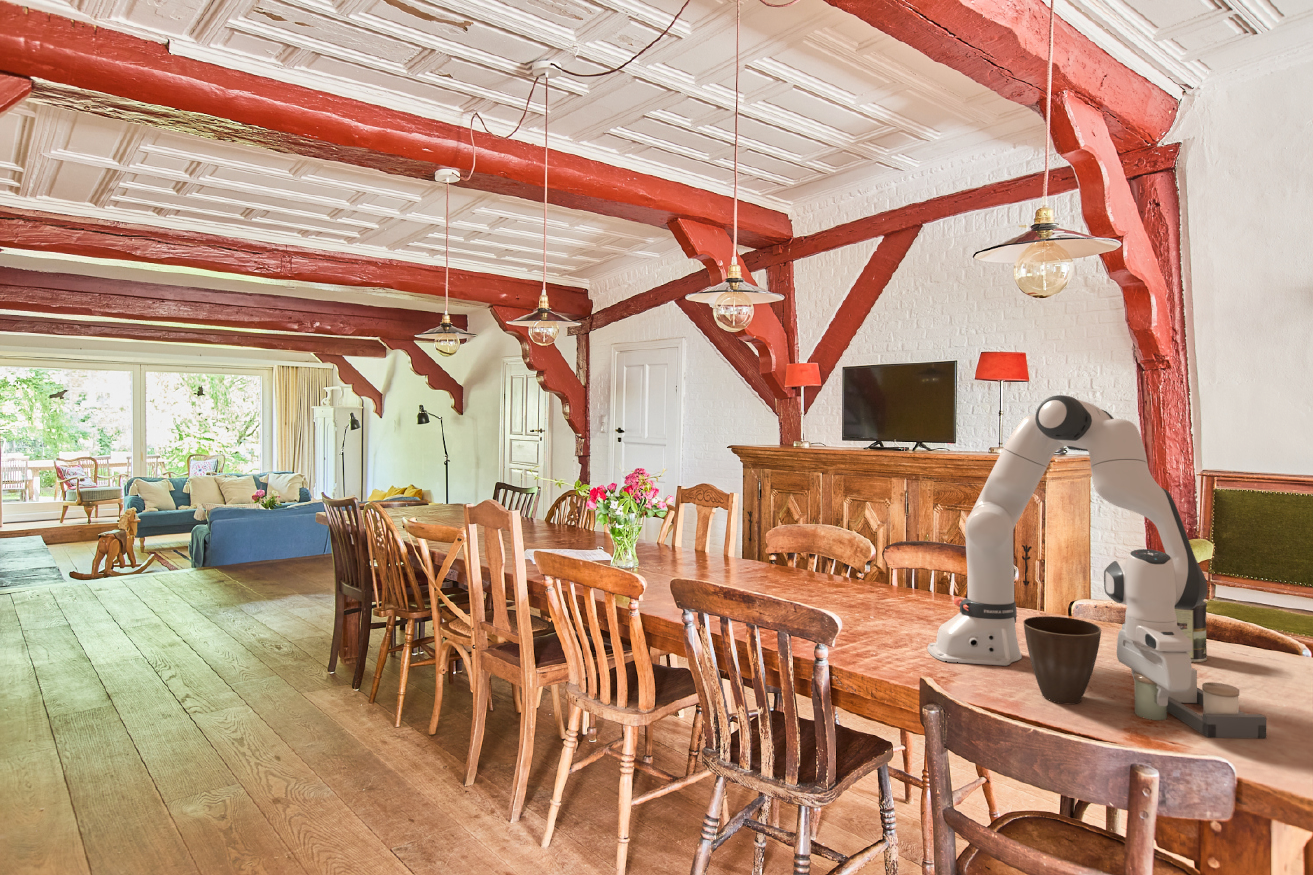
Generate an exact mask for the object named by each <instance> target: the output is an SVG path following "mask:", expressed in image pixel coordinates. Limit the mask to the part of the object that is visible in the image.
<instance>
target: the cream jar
mask: <svg viewBox="0 0 1313 875" xmlns="http://www.w3.org/2000/svg"><path fill="white" fill-rule="evenodd" d="M1201 686H1202V687H1201V688H1202V689H1201V690H1203V706H1202V710H1203V711H1202V714H1203V713H1205V714H1238V710H1239V696H1240V689H1239V688H1237V687H1236V686H1233V685H1230V684H1226V683H1221V682H1204V683H1202V684H1201Z"/></svg>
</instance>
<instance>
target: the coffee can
mask: <svg viewBox="0 0 1313 875" xmlns="http://www.w3.org/2000/svg"><path fill="white" fill-rule="evenodd" d="M1207 606H1208V603H1207V602H1206V601H1204V600H1203V601H1202V602H1201V603H1200V604H1199V605H1198V606H1196V607H1195V608H1193V609H1191V610H1186V609H1177V608H1175V613H1176V616H1177V626H1179V628H1180V629H1181V631H1182V632H1183V633H1184V634H1185V635H1186V636H1187V637H1188V638H1189V639H1190V640H1191V641H1192V644H1193V649H1192V651H1189V652H1188V654H1189V655H1190V658H1191V663H1202V662H1206V661H1207V660H1208V657H1207V656H1208V655H1207V654H1208V653H1207Z"/></svg>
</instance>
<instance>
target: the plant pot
mask: <svg viewBox="0 0 1313 875" xmlns="http://www.w3.org/2000/svg"><path fill="white" fill-rule="evenodd" d="M1023 629H1024V635H1025V636H1024V637H1025V641H1026V642H1025V643H1026V647H1027V651H1028V652H1027V653H1028V656H1029V659H1030V664H1031V667H1032V670H1033V674H1034V677H1035V680H1036V682H1037V684H1038V688H1039V690H1040V693H1041V695H1042V697H1043V696H1044V697H1046V698H1047V699H1046V698H1045V699H1046V700H1048V699H1050V700H1052V701H1051V702H1053V701H1055V702H1054V703H1057V702H1059V703H1058V704H1063V703H1075V704H1079V703H1080V702H1081V701H1082V699H1083V697H1084V695H1085V692H1086V690H1087V687H1088V686H1089V683H1090V681H1091V680H1090V679H1091V678H1092V675H1093V672H1094V668H1095V665H1096V662H1097V657H1098V652H1099V647H1100V643H1101V642H1100V641H1101V635H1102V628H1101V627H1100V626H1099V625H1097V624H1095V623H1092V622H1089V621H1086V620H1082V619H1078V618H1071V617H1065V616H1050V615H1048V616H1046V615H1045V616H1043V615H1042V616H1032V617H1028V618H1026V619H1024V620H1023ZM1044 697H1043V698H1044ZM1050 700H1049V701H1050ZM1078 702H1079V703H1078Z"/></svg>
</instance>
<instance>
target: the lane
mask: <svg viewBox="0 0 1313 875" xmlns="http://www.w3.org/2000/svg"><path fill="white" fill-rule="evenodd" d="M1196 704H1198V705H1200V706H1202V707H1203V689H1201V688H1199V687H1197V703H1196ZM1167 714H1170V715H1172V716H1174V717H1175V718H1176V719H1178V720H1179V721H1181V722H1182V723H1184V724H1186V725H1188V726H1189V727H1191V728H1192V729H1193V730H1195V731H1196V732H1198V733H1200V734H1202V735H1203V736H1205V737H1206V738H1217V739H1219V738H1222V739H1225V738H1226V739H1228V738H1229V739H1267V716H1265V715H1263V714H1261V713H1257V714H1256V713H1245V712H1244V711H1241V710H1240V709H1238V714H1205V713H1203V712H1202V715H1201V714H1199V713H1198V712H1196V711H1195V710H1193V709H1191V708H1189V707H1188V706H1187V705H1184V703H1179V702H1178V701H1176V700H1174V699H1173V698H1171V697H1168V705H1167Z"/></svg>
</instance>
